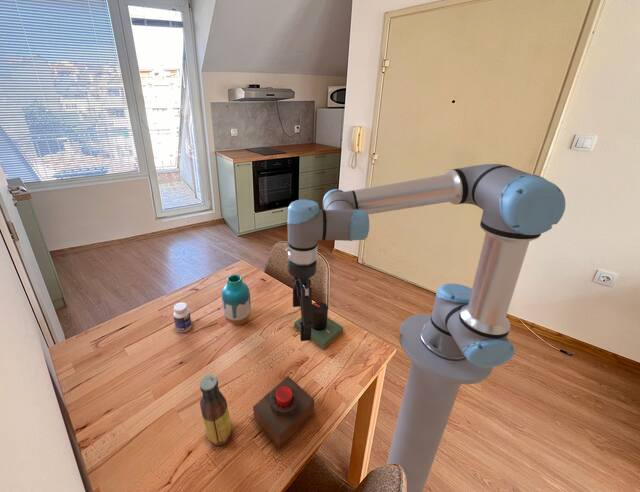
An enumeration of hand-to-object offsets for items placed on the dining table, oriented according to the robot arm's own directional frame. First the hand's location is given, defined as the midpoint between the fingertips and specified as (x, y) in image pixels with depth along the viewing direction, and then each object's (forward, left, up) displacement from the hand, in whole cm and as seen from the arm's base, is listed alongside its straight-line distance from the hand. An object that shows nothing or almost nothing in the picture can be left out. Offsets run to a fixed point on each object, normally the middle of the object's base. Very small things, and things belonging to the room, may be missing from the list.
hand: (301, 321), depth 85 cm
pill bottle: (+45, -12, -20) cm, 51 cm away
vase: (+26, -19, -20) cm, 38 cm away
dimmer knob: (-5, -18, -17) cm, 25 cm away
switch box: (+3, +15, -20) cm, 25 cm away
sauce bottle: (+19, +22, -20) cm, 35 cm away
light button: (+3, +15, -13) cm, 20 cm away
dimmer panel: (-5, -18, -20) cm, 27 cm away
